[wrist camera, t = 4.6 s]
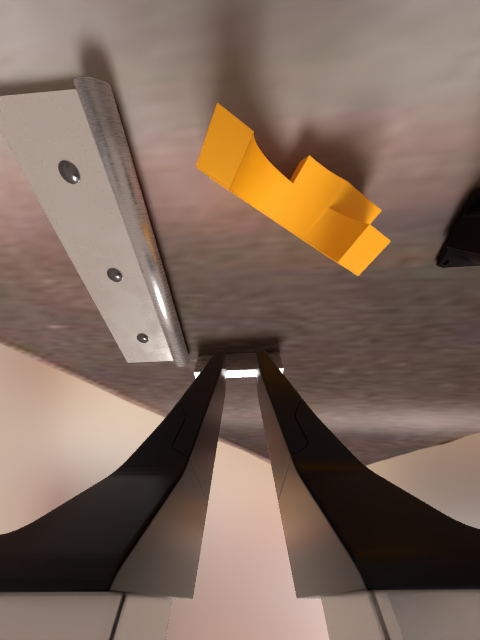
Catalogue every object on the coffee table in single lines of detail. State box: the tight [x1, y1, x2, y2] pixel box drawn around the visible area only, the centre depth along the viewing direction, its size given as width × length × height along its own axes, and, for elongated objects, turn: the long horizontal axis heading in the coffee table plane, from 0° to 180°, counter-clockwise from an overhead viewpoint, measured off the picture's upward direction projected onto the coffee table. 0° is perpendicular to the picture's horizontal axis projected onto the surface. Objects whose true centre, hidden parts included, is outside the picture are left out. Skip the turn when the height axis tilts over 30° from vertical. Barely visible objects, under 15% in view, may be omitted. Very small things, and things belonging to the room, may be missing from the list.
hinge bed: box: [0, 76, 283, 378], centre depth 18 cm, size 20×25×3 cm
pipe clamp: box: [196, 103, 391, 276], centre depth 13 cm, size 12×4×6 cm, turn 61°
